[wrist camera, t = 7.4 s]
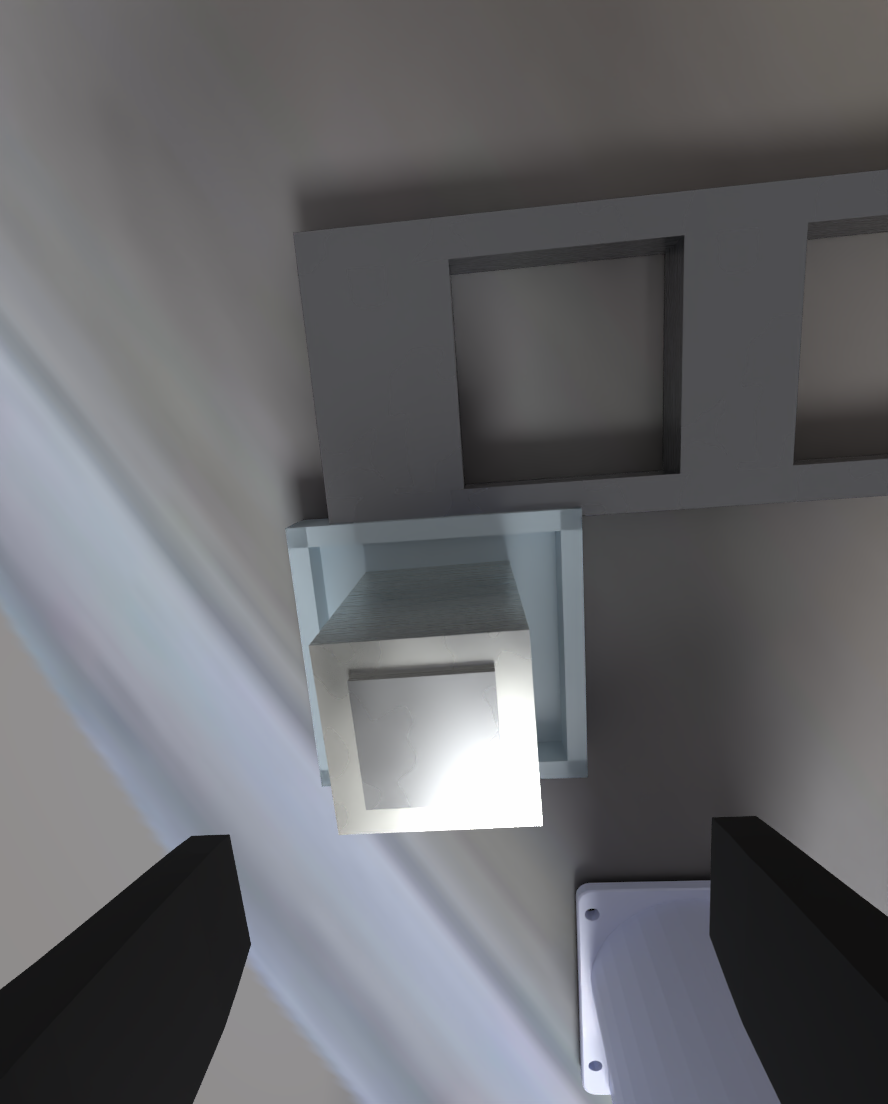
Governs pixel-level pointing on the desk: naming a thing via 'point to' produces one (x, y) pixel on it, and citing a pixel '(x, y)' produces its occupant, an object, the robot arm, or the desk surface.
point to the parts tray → (521, 537)
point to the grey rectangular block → (429, 702)
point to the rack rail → (689, 348)
